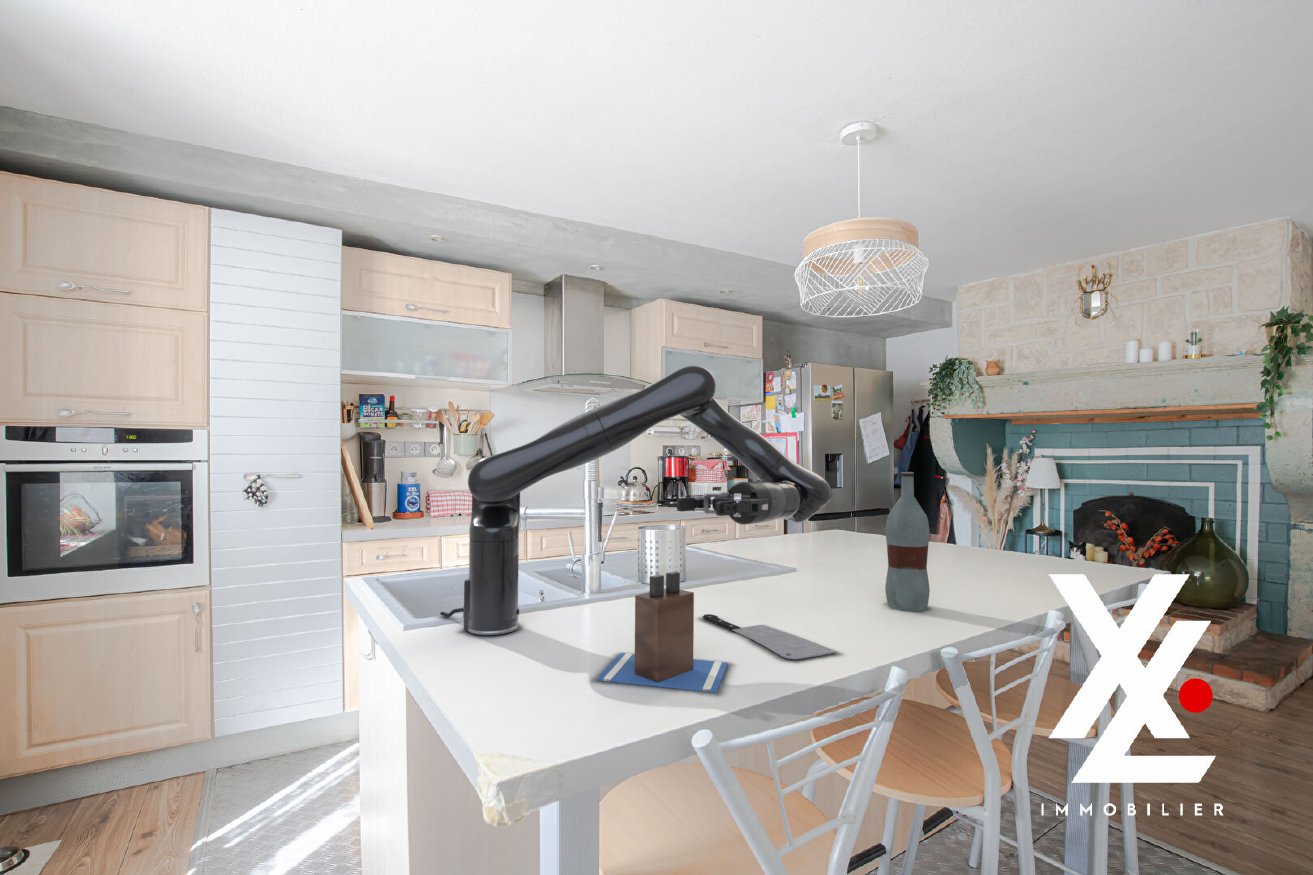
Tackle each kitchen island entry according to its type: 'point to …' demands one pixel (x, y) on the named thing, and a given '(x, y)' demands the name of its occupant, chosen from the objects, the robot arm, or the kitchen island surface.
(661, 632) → the knife block
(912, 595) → the bottle
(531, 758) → the kitchen island surface
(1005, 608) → the kitchen island surface
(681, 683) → the towel
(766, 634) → the cleaver
